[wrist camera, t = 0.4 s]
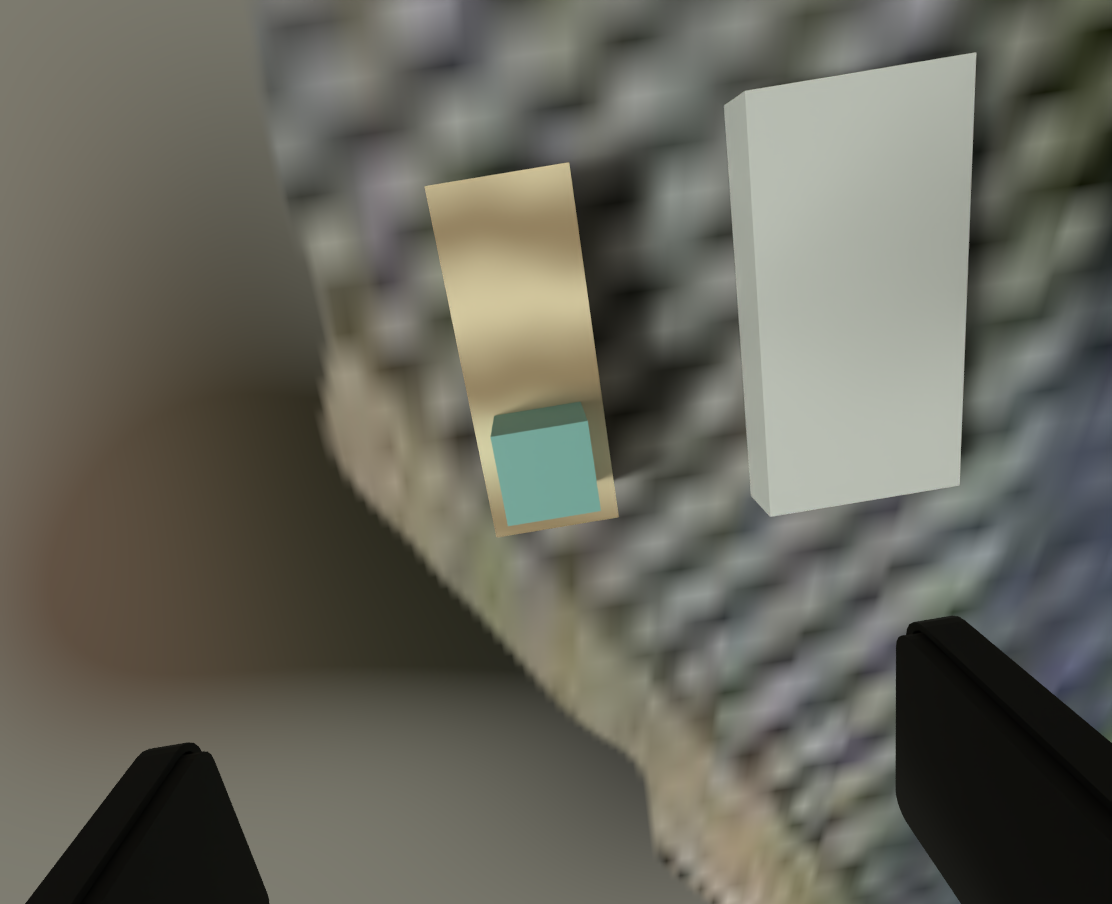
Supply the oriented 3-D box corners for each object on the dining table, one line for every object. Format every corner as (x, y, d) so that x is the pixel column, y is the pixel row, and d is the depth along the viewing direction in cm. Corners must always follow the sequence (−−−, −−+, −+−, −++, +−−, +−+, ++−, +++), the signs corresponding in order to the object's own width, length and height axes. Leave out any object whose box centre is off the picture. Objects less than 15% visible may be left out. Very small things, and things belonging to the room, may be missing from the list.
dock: (723, 105, 30) (744, 90, 27) (933, 70, 30) (976, 52, 27) (750, 495, 36) (770, 516, 34) (925, 466, 36) (959, 485, 34)
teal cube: (494, 415, 29) (490, 436, 26) (580, 401, 29) (587, 420, 26) (509, 496, 31) (507, 526, 27) (592, 482, 31) (601, 510, 27)
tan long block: (439, 195, 31) (424, 186, 26) (561, 175, 31) (569, 162, 26) (500, 499, 36) (496, 537, 31) (605, 481, 36) (618, 517, 31)
